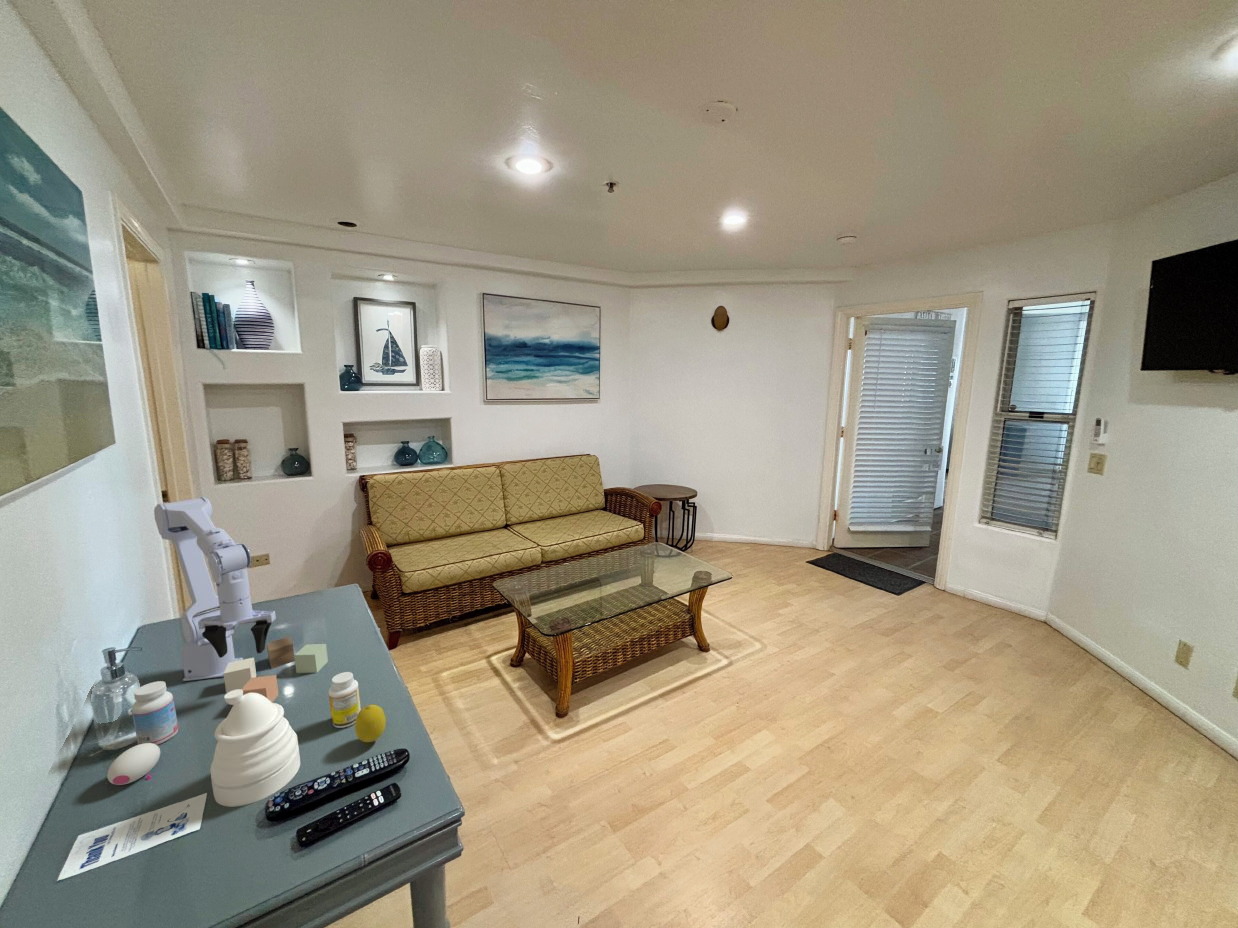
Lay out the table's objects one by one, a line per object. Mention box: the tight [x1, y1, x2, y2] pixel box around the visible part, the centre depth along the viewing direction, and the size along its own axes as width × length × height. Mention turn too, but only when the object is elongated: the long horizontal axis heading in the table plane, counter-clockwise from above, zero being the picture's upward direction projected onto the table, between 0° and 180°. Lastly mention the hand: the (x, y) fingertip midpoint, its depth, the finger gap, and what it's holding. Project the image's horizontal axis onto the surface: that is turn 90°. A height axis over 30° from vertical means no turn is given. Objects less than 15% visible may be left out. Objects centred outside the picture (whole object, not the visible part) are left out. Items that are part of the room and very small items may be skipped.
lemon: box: [354, 704, 387, 743], centre depth 97 cm, size 6×6×8 cm
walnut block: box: [265, 636, 295, 669], centre depth 126 cm, size 5×5×5 cm
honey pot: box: [209, 689, 301, 808], centre depth 88 cm, size 13×13×18 cm
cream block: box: [223, 657, 257, 694], centre depth 117 cm, size 5×5×5 cm
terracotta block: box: [241, 674, 279, 703], centre depth 110 cm, size 5×5×5 cm
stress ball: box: [106, 743, 161, 786], centre depth 89 cm, size 8×8×7 cm
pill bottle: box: [131, 680, 179, 746], centre depth 98 cm, size 6×6×11 cm
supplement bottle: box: [328, 671, 362, 729], centre depth 103 cm, size 6×6×10 cm
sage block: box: [294, 643, 329, 674], centre depth 124 cm, size 5×5×5 cm
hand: (242, 652), depth 112 cm, fingers open, 7 cm apart
